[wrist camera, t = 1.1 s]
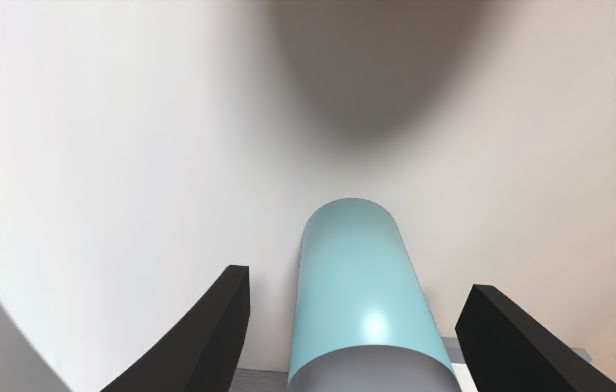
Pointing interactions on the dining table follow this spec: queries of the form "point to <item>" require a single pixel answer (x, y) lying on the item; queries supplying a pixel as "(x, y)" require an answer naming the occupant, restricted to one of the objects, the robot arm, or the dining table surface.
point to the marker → (362, 309)
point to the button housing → (258, 381)
